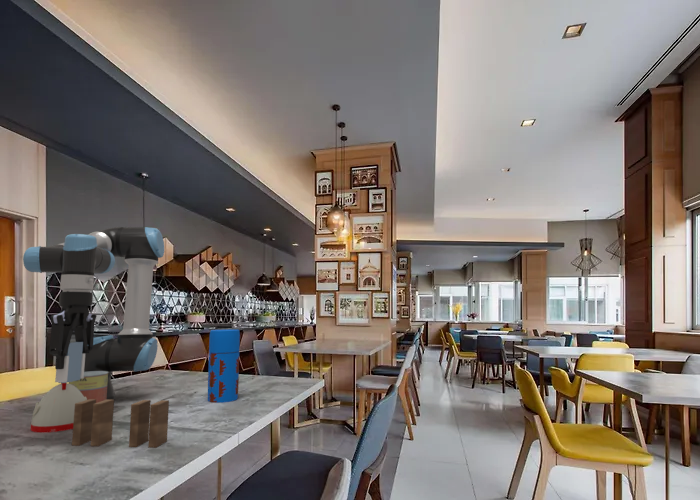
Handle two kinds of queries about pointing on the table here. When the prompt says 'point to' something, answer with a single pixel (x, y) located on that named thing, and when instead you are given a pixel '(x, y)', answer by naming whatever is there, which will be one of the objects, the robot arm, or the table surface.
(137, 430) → the domino
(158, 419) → the domino
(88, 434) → the domino
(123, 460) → the table surface
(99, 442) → the domino
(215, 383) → the thermos
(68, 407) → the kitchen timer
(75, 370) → the domino
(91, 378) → the canned food
